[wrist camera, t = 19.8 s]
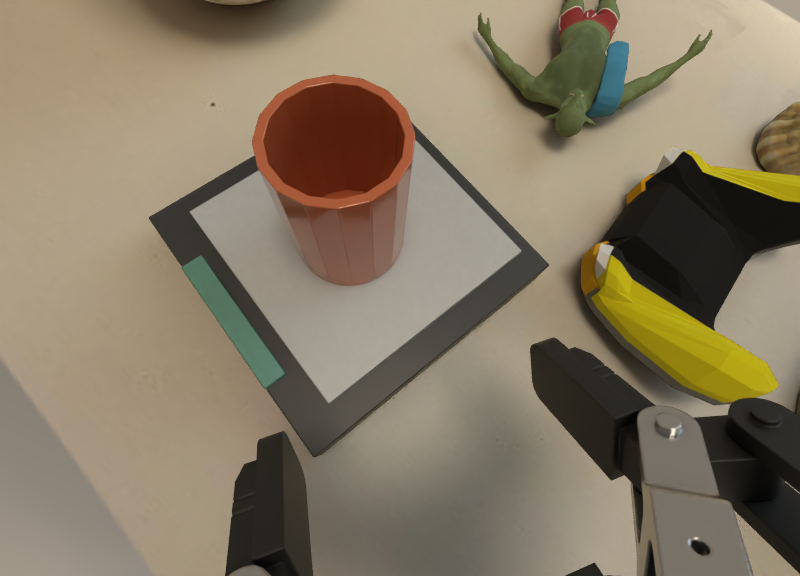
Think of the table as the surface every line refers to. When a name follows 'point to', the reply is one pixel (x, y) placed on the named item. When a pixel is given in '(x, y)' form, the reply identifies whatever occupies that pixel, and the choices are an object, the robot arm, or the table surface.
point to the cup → (338, 174)
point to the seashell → (781, 143)
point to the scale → (346, 291)
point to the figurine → (584, 68)
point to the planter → (235, 2)
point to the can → (798, 407)
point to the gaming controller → (689, 270)
